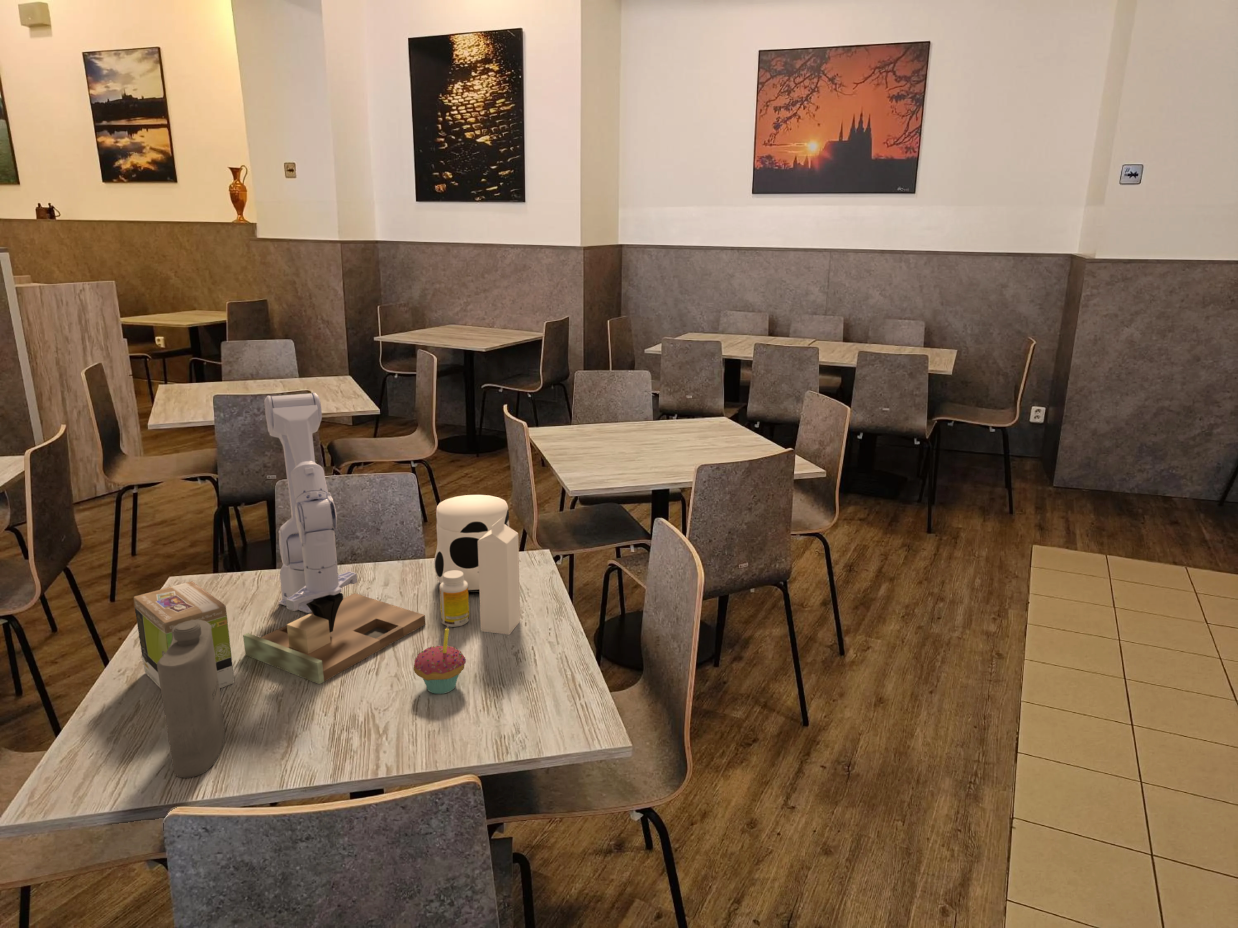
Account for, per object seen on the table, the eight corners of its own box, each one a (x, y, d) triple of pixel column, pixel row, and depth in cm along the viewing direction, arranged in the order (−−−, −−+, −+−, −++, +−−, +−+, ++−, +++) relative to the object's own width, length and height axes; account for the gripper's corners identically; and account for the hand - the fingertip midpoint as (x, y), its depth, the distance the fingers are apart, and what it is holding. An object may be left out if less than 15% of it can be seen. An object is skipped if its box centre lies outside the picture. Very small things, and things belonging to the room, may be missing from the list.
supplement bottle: (474, 622, 161) (472, 575, 158) (449, 630, 158) (447, 582, 155) (461, 612, 165) (459, 566, 162) (436, 620, 162) (433, 573, 159)
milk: (480, 631, 157) (475, 525, 151) (492, 617, 163) (488, 514, 157) (510, 635, 156) (506, 527, 150) (521, 621, 162) (517, 517, 156)
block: (289, 646, 146) (286, 624, 145) (311, 635, 151) (309, 613, 149) (308, 653, 144) (305, 631, 143) (330, 642, 148) (328, 619, 147)
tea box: (237, 683, 138) (227, 604, 134) (174, 706, 131) (162, 623, 127) (203, 652, 148) (192, 578, 144) (142, 673, 141) (130, 595, 137)
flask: (216, 773, 115) (198, 647, 110) (170, 781, 113) (150, 653, 108) (230, 716, 129) (215, 601, 123) (189, 722, 127) (172, 606, 122)
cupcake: (475, 679, 140) (472, 616, 137) (449, 704, 133) (446, 638, 129) (432, 670, 143) (428, 608, 140) (404, 694, 135) (400, 629, 132)
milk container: (450, 564, 189) (447, 491, 184) (522, 569, 187) (521, 495, 182) (423, 595, 173) (419, 516, 168) (502, 601, 170) (500, 520, 166)
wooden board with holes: (245, 654, 148) (243, 634, 146) (355, 601, 169) (353, 584, 168) (319, 684, 138) (317, 663, 137) (425, 624, 160) (424, 605, 159)
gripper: (302, 581, 139) (309, 652, 143) (366, 554, 151) (371, 620, 155) (275, 573, 142) (283, 642, 146) (339, 547, 155) (345, 612, 158)
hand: (326, 630), depth 151 cm, fingers closed
